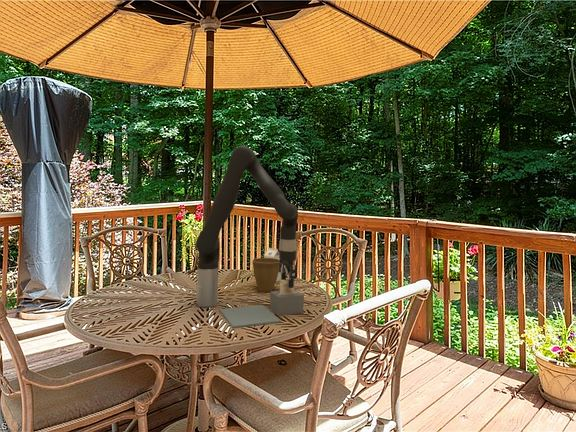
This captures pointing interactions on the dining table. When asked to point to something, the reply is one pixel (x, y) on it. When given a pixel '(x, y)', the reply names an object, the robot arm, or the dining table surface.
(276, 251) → the milk carton
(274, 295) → the grey rectangular block
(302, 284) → the dining table surface
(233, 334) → the dining table surface
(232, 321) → the mat
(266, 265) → the plant pot
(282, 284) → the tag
